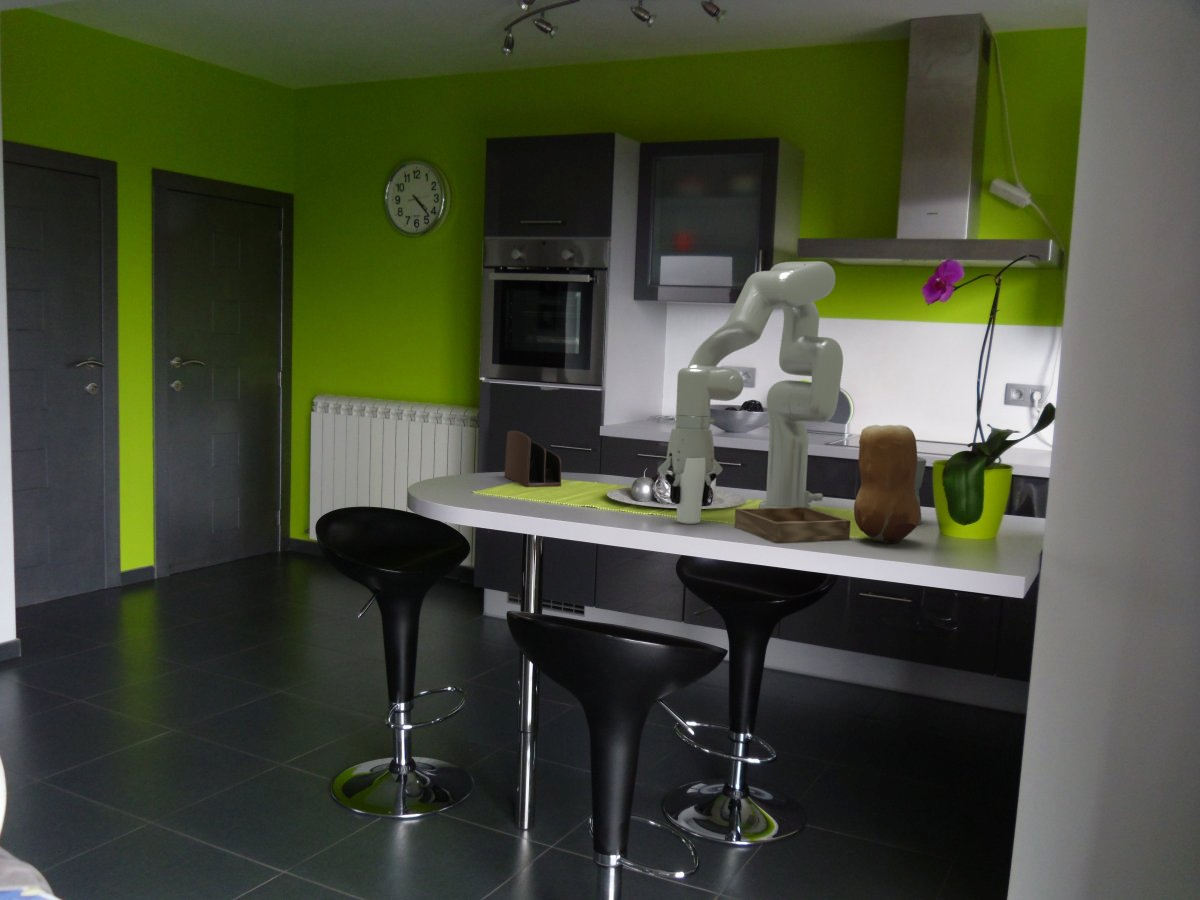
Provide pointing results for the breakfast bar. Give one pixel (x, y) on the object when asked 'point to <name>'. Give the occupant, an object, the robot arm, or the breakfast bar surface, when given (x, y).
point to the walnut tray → (792, 524)
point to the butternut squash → (887, 483)
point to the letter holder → (531, 462)
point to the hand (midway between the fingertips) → (689, 502)
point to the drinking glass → (691, 491)
